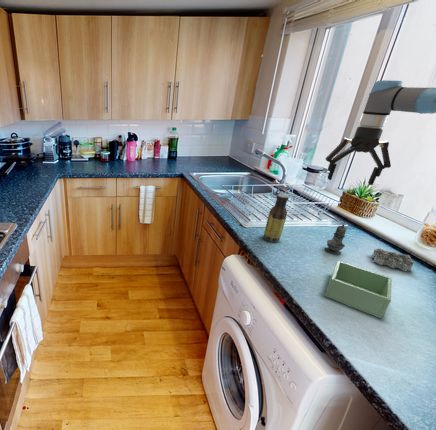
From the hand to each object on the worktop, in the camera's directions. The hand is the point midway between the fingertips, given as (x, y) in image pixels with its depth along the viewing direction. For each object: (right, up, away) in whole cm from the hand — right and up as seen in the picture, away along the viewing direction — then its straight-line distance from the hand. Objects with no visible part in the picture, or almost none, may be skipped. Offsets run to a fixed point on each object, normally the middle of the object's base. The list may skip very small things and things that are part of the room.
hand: (349, 181), depth 114 cm
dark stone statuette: (-7, -28, -1) cm, 29 cm away
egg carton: (+8, -32, -8) cm, 34 cm away
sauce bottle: (-28, -24, +7) cm, 37 cm away
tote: (-19, -39, -25) cm, 50 cm away
